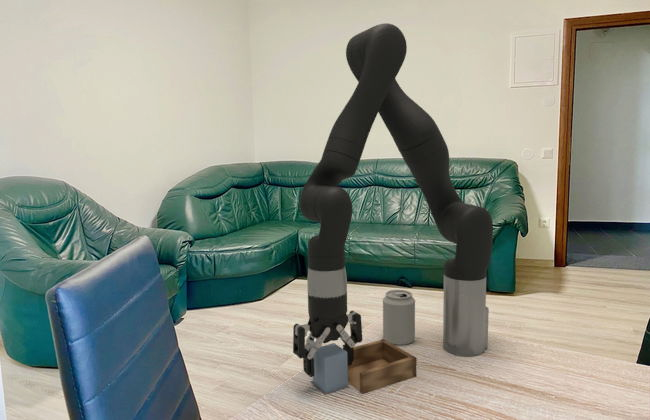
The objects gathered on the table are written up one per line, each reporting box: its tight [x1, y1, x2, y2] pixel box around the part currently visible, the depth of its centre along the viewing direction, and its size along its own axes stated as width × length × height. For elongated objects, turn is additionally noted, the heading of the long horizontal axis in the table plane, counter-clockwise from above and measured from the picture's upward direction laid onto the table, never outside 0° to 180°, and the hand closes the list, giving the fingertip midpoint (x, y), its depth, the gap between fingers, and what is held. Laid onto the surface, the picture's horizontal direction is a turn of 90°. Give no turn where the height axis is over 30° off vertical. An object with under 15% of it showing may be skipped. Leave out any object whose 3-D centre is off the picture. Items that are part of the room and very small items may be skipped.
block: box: [312, 342, 349, 393], centre depth 98 cm, size 5×5×7 cm
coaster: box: [310, 380, 350, 396], centre depth 99 cm, size 6×6×1 cm
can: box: [382, 289, 416, 346], centre depth 119 cm, size 8×8×12 cm
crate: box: [347, 338, 417, 395], centre depth 102 cm, size 13×11×4 cm
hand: (329, 369), depth 98 cm, fingers open, 8 cm apart
